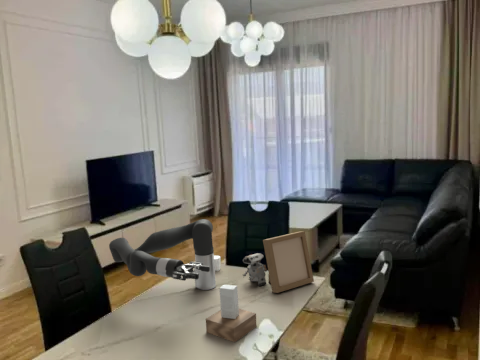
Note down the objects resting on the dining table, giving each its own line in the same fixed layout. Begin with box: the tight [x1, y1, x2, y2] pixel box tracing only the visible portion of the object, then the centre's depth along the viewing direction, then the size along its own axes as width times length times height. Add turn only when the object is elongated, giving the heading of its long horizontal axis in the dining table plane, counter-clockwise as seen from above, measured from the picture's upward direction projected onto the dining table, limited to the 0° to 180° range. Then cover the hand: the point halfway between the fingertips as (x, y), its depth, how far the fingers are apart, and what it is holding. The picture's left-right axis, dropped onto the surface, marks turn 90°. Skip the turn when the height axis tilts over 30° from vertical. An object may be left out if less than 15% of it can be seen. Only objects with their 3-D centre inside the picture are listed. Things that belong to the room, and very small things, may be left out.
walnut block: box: [205, 308, 257, 343], centre depth 172 cm, size 14×14×6 cm
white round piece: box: [214, 254, 222, 272], centre depth 238 cm, size 7×7×7 cm
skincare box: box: [218, 284, 240, 319], centre depth 170 cm, size 6×4×12 cm
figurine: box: [242, 252, 268, 287], centre depth 215 cm, size 9×12×15 cm
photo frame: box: [262, 230, 315, 294], centre depth 212 cm, size 15×22×25 cm
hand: (203, 272), depth 173 cm, fingers open, 8 cm apart
